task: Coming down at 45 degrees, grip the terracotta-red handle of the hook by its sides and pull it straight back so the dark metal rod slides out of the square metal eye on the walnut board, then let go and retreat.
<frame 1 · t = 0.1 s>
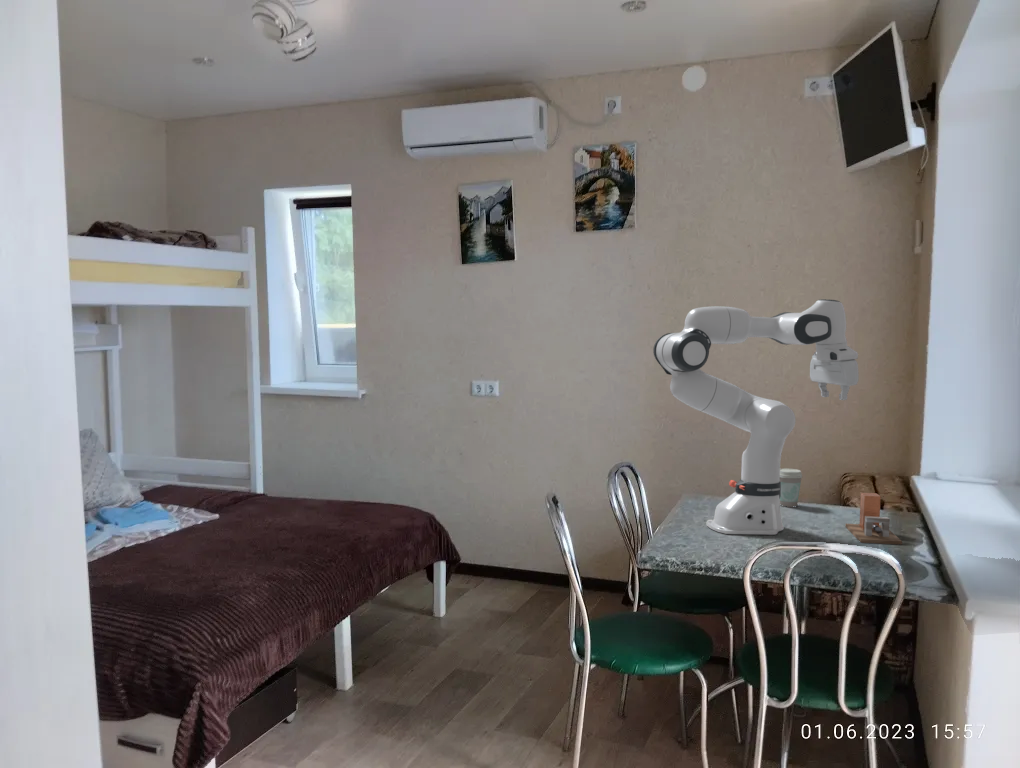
hand: (834, 398, 248), 39 cm above the table, tool pointing down, fingers open, 8 cm apart
eye board: (872, 535, 238), on the table
coffee cup: (788, 506, 277), on the table
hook: (873, 514, 238), point 6 cm above the table, slide at 0.0 cm
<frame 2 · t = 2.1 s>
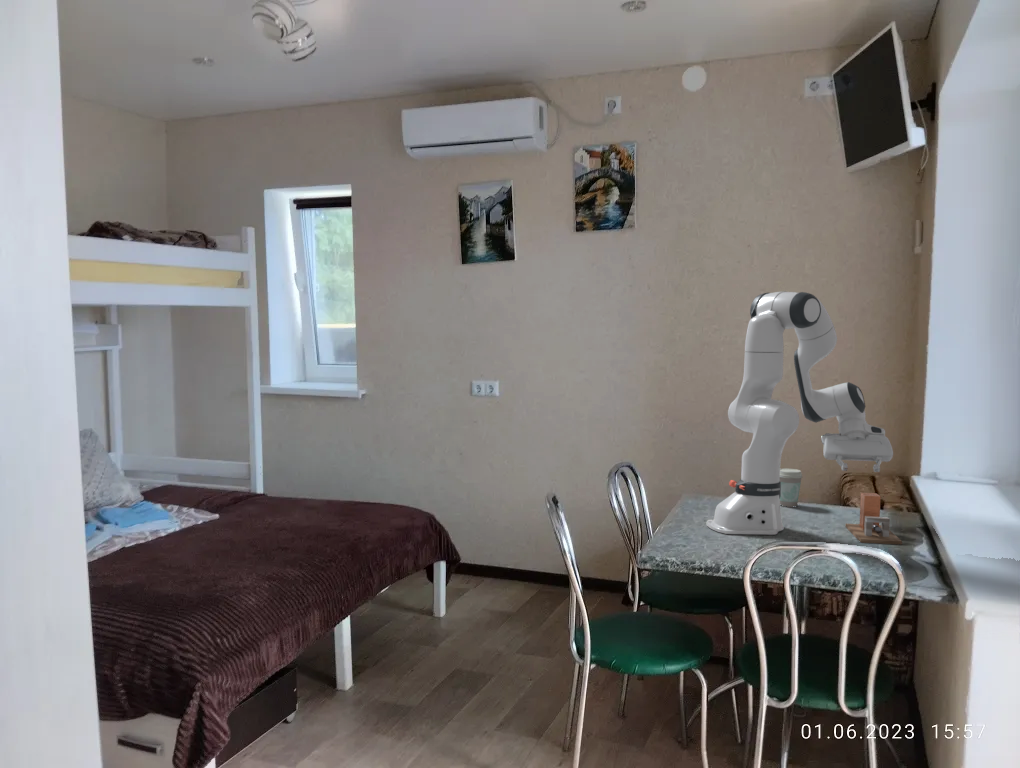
hand: (860, 470, 253), 16 cm above the table, tool tilted 45°, fingers open, 8 cm apart
nothing on the table moved.
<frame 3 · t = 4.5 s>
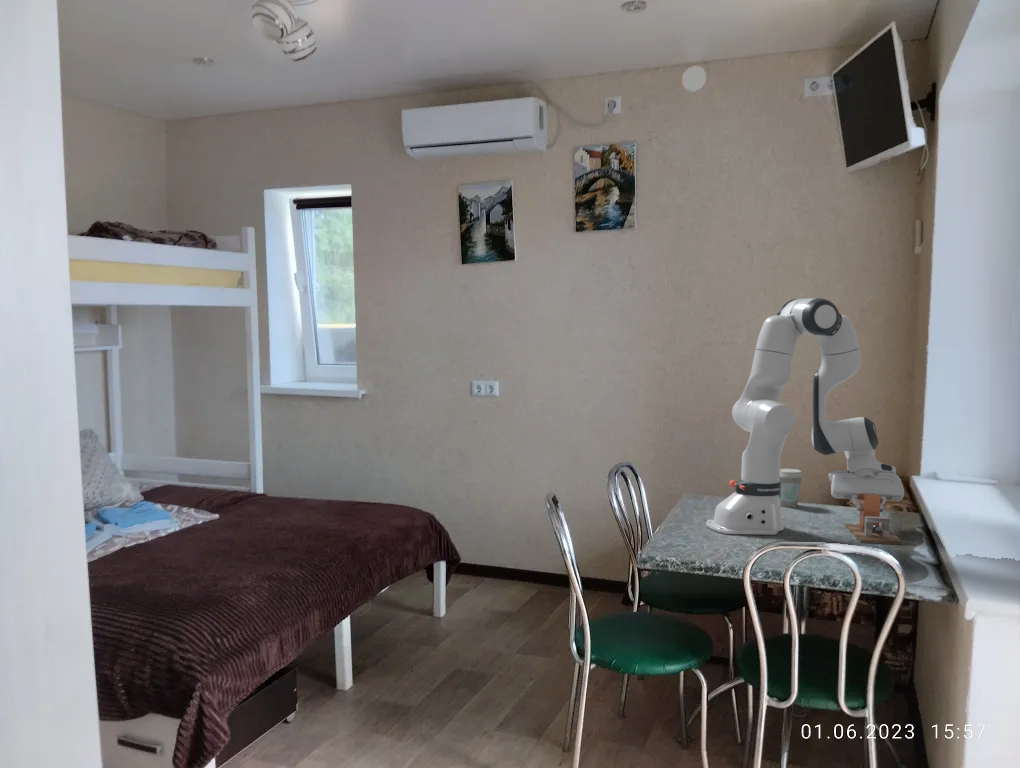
hand: (870, 510, 241), 7 cm above the table, tool tilted 45°, fingers closed on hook, 4 cm apart
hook: (873, 514, 238), point 6 cm above the table, slide at 0.0 cm, touching gripper
everything else where it was.
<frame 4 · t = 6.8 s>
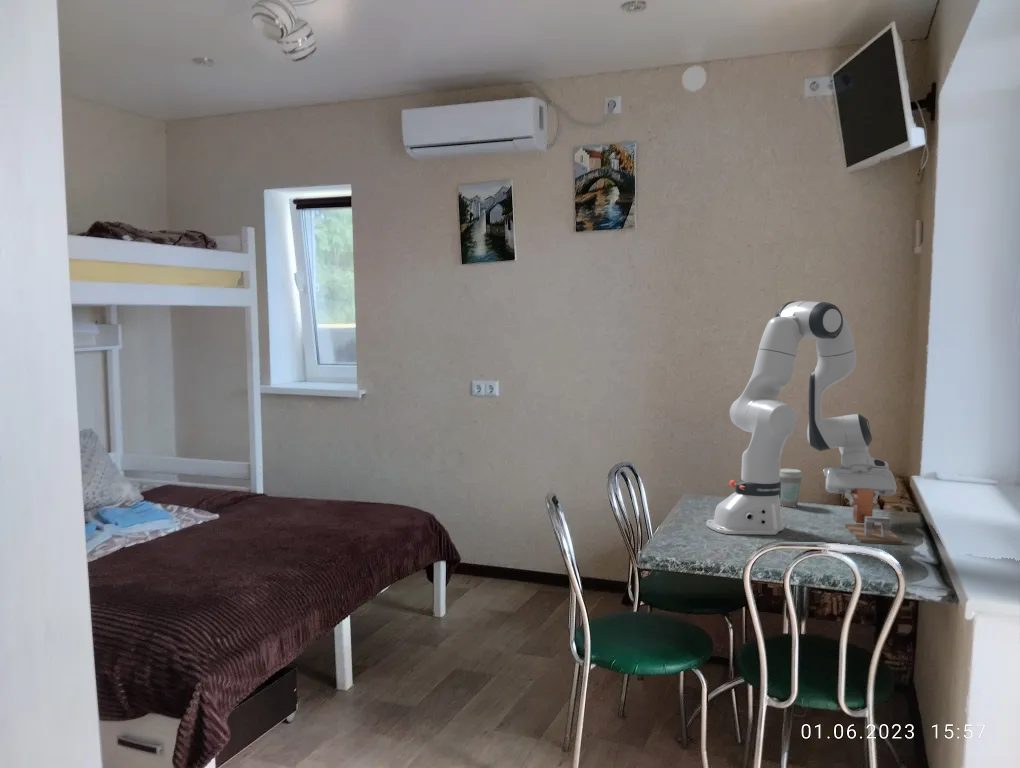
hand: (863, 504, 249), 7 cm above the table, tool tilted 45°, fingers closed on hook, 4 cm apart
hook: (866, 508, 246), point 6 cm above the table, slide at 7.8 cm, touching gripper
everything else where it was.
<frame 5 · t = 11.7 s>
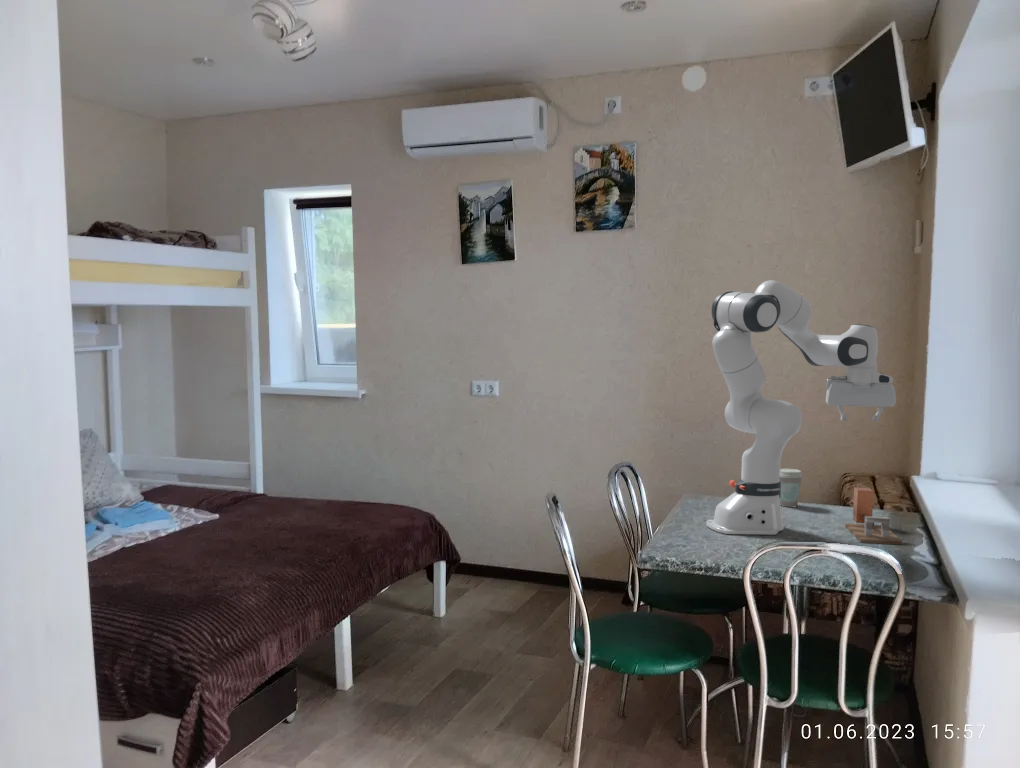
hand: (859, 420, 257), 31 cm above the table, tool pointing down, fingers open, 8 cm apart
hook: (866, 508, 246), point 6 cm above the table, slide at 7.9 cm
everything else where it was.
at the end: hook slide at 7.9 cm; the gripper is holding nothing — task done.
